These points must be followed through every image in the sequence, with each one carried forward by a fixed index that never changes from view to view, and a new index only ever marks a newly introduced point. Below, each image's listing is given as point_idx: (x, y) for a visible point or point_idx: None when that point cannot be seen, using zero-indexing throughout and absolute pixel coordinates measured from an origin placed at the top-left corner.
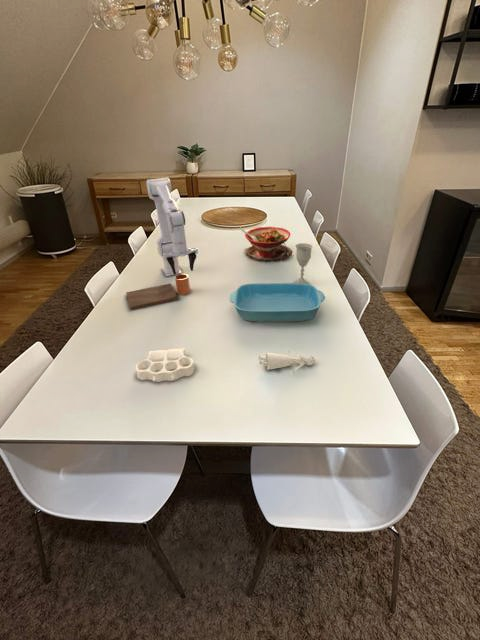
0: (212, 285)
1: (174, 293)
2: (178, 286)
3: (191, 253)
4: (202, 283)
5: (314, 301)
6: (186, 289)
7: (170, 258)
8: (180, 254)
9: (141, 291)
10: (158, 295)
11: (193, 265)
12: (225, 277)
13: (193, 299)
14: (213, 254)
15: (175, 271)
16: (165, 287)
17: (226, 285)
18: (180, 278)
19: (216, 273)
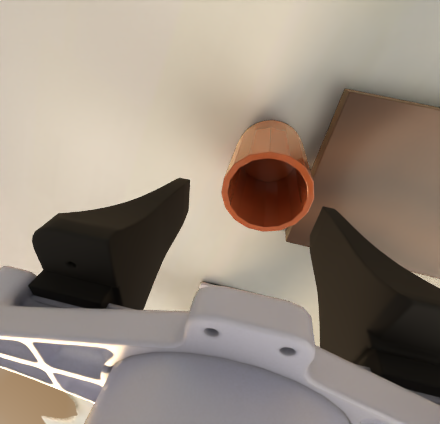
0: (122, 125)
1: (336, 142)
2: (306, 157)
3: (82, 302)
4: (158, 172)
5: None
6: (266, 127)
7: (409, 367)
8: (296, 365)
9: (437, 259)
10: (416, 177)
11: (152, 192)
12: (52, 158)
13: (271, 29)
14: None
15: (331, 216)
16: None
17: (56, 78)
18: (260, 211)
19: (83, 210)
